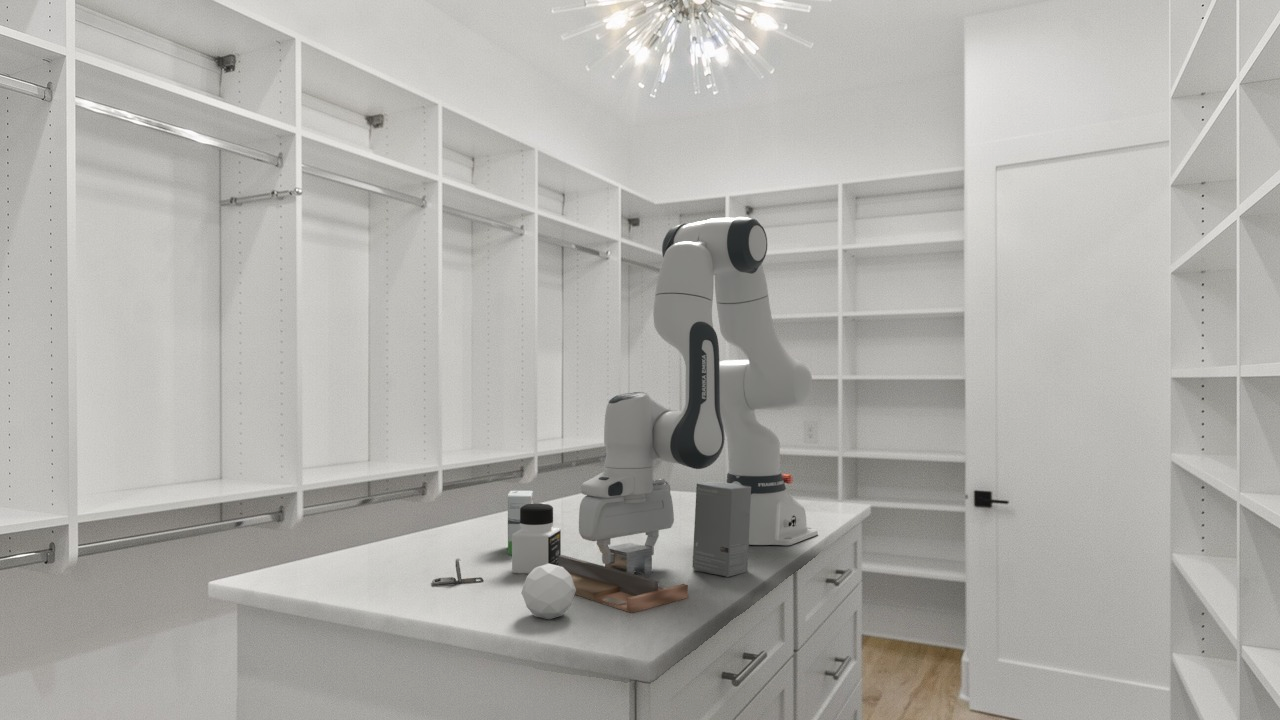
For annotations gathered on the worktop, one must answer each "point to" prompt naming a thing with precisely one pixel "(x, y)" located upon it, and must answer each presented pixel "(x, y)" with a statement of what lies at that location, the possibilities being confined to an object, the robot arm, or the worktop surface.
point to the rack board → (618, 586)
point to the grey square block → (631, 558)
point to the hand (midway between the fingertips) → (628, 559)
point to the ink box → (516, 512)
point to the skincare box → (721, 528)
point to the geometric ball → (548, 591)
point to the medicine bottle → (535, 539)
